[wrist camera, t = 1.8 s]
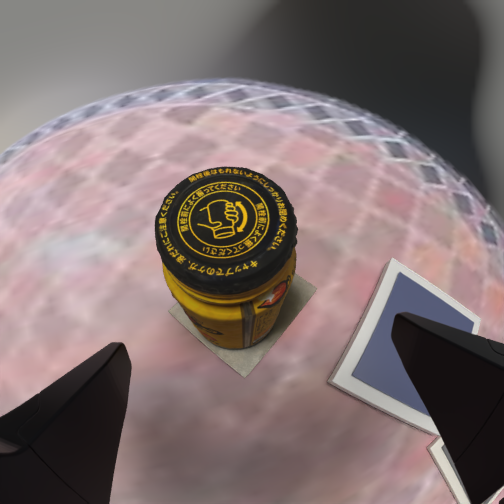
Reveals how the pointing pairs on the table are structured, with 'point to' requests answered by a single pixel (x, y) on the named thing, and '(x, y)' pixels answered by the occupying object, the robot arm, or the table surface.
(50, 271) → the table surface
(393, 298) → the ink pad
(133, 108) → the table surface
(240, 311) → the condiment
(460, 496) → the marked board
